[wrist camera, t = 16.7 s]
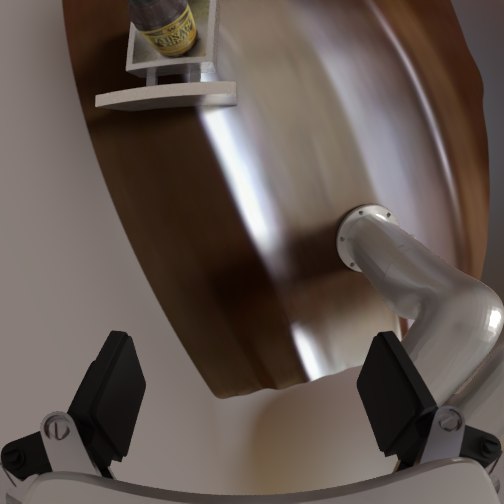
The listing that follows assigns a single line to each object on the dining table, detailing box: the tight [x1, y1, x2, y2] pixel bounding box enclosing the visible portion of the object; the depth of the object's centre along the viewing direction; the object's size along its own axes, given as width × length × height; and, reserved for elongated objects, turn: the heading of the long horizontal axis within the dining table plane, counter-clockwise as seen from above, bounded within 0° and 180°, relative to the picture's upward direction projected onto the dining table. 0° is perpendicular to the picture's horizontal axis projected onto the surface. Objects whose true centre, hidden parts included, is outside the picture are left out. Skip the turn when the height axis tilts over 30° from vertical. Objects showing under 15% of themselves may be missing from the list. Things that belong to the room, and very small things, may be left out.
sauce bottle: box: [127, 0, 198, 57], centre depth 20 cm, size 7×6×20 cm
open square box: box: [95, 0, 238, 112], centre depth 29 cm, size 17×16×12 cm
